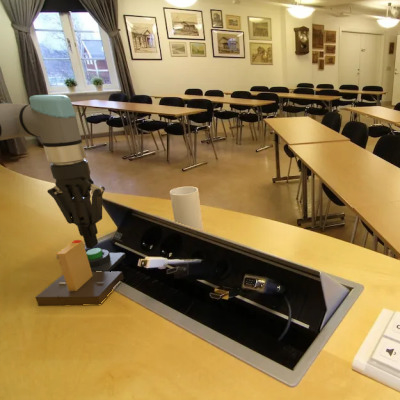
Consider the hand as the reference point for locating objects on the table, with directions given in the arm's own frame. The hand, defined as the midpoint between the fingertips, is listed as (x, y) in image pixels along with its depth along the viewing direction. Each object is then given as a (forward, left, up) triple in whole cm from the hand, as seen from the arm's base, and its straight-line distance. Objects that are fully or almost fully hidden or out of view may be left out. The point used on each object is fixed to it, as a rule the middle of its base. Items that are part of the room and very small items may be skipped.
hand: (92, 245), depth 87 cm
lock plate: (+4, -12, -6) cm, 14 cm away
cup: (+20, +17, -6) cm, 27 cm away
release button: (0, 0, -4) cm, 4 cm away
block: (0, 0, -6) cm, 6 cm away
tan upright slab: (+4, -12, -4) cm, 13 cm away
